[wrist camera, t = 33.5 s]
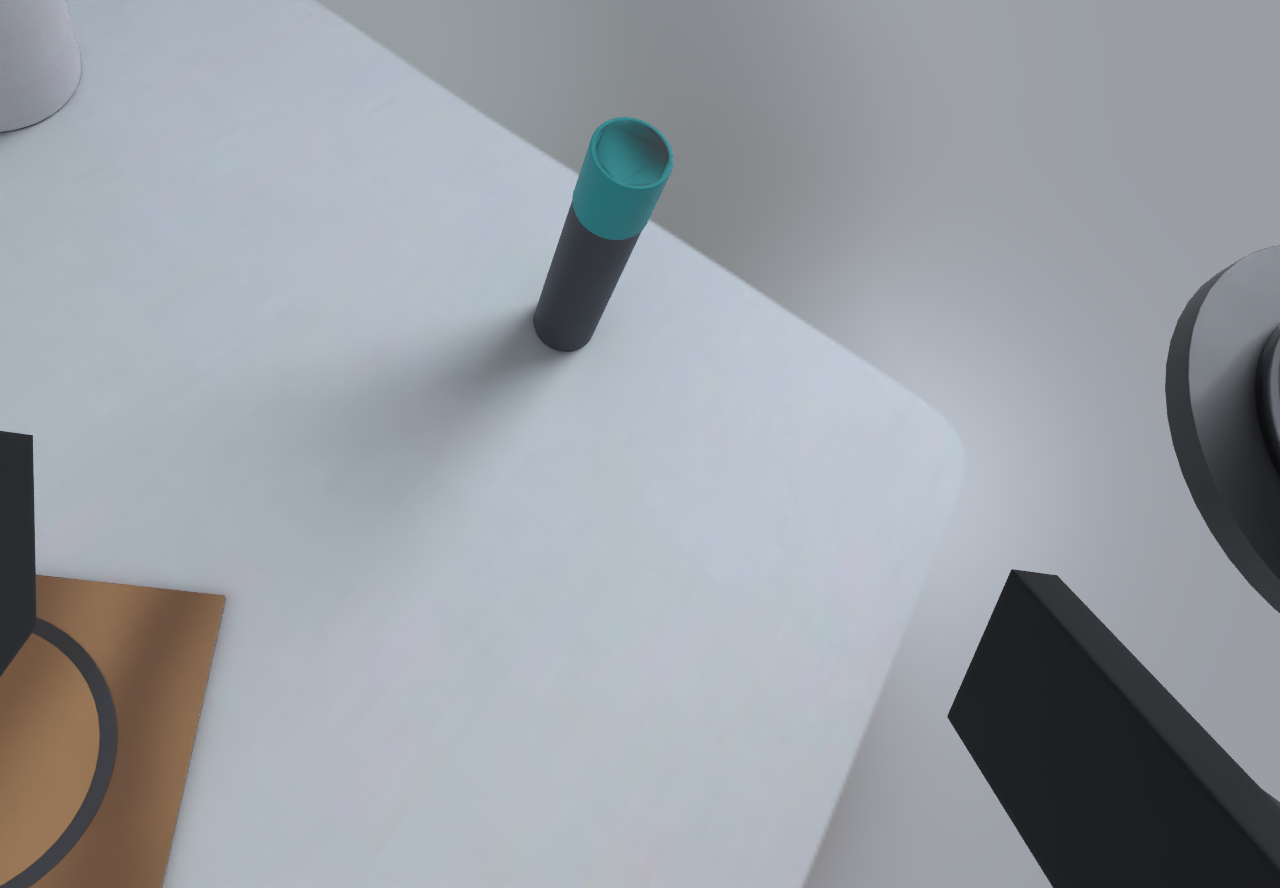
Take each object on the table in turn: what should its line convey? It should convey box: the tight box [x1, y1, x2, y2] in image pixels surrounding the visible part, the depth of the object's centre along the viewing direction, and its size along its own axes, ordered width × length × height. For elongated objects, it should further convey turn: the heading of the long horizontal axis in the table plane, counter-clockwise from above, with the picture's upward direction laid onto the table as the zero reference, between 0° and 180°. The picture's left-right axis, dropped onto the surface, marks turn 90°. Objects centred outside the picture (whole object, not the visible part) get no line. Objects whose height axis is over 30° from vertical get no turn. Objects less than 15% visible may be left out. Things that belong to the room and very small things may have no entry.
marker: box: [534, 117, 673, 351], centre depth 36 cm, size 3×3×12 cm
